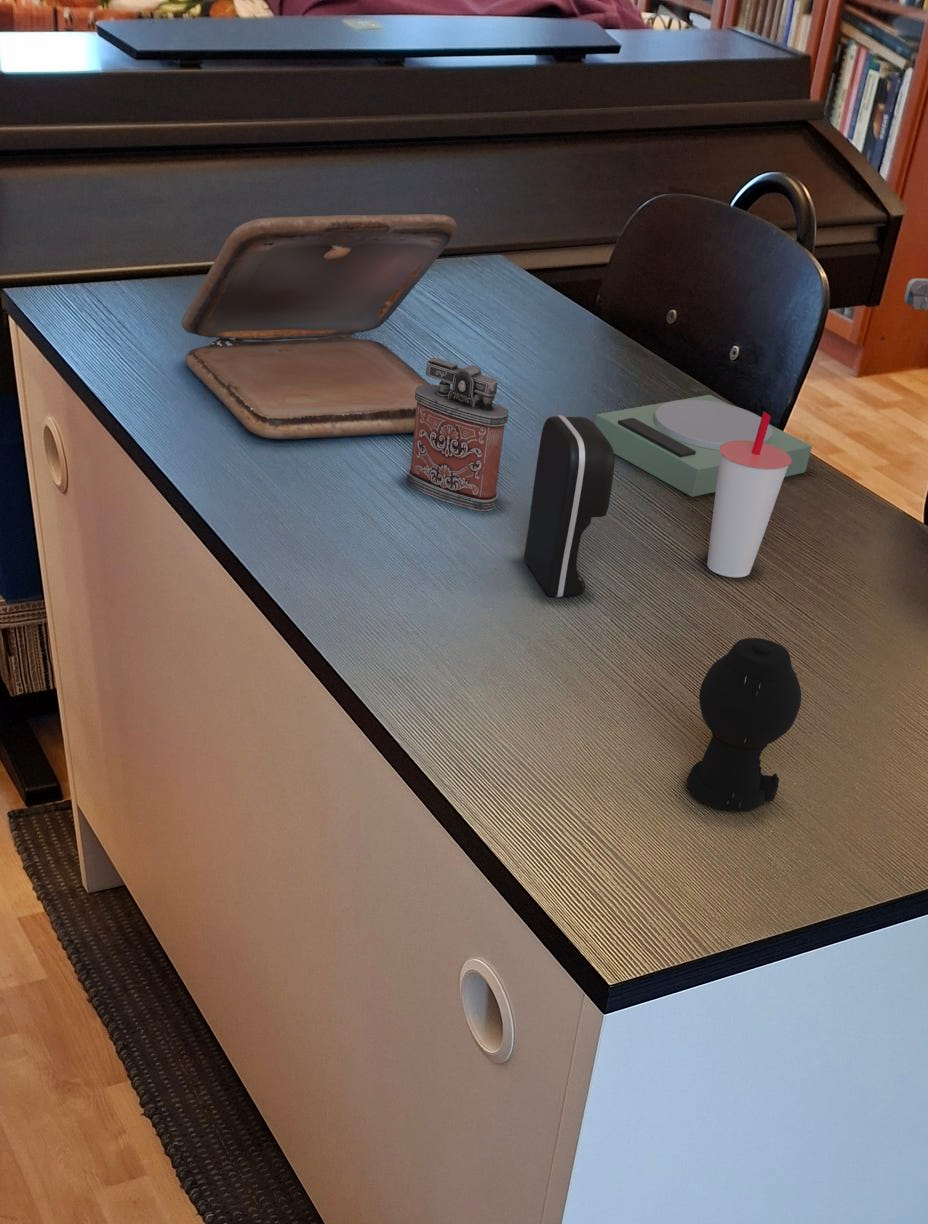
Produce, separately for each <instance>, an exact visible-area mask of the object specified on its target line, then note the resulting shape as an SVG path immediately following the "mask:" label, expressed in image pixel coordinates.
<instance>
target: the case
mask: <svg viewBox="0 0 928 1224" xmlns="http://www.w3.org/2000/svg"><path fill="white" fill-rule="evenodd" d="M457 230H458V225H457V222H456V220H455V219H454V218H453V217H452V216H450V215H446V214H436V213H428V214H427V213H422V214H421V213H418V214H417V213H413V214H412V213H411V214H406V213H405V214H341V215H340V214H338V215H305V216H276V217H275V216H274V217H273V216H271V217H262V218H261V217H260V218H256V219H252V220H249V221H247V222H244V223H242V224H240V225H238V226H237V227H235V229H234V230H233V231H232V232H230V234H229V235H228V237H227V238H226V240H225V242H224V244H223V246H222V248H221V249H220V251H219V253H218V255H217V256H216V258H215V260H214V262H213V263H212V265H211V267H210V269H209V271H208V272H207V274H206V276H205V277H204V279H203V282H202V283H201V285H200V286H199V288H198V289H197V292H196V294H195V295H194V296H193V299H192V300H191V302H190V304H189V306H188V307H187V308H186V311H185V312H184V314H183V316H182V318H181V327H182V329H183V330H184V331H185V332H187V333H189V334H192V335H197V336H200V337H204V338H209V339H210V338H216V340H214V341H212V342H210V344H209V345H205V346H202V347H200V346H199V347H196V348H192V349H190V350H189V351H187V353H186V354H185V356H184V362H185V364H186V366H187V367H188V369H190V371H192V373H193V374H194V375H195V376H196V377H197V378H198V379H199V380H200V381H202V383H203V384H204V385H205V386H207V388H208V389H209V390H211V392H212V393H213V394H214V395H215V396H216V397H217V399H219V401H221V402H222V404H223V405H224V406H225V407H226V408H227V409H228V410H229V411H230V412H231V414H232V415H233V416H234V417H235V418H236V419H237V420H238V422H240V424H242V425H243V426H244V427H245V429H246V430H247V431H249V432H250V433H252V434H254V435H256V436H258V437H261V438H264V439H270V440H271V439H272V440H298V439H300V440H301V439H319V438H320V439H321V438H334V437H335V438H336V437H337V438H339V437H355V436H374V435H389V434H411V433H412V434H414V427H415V416H416V406H417V401H416V400H415V392H416V387H418V386H420V385H425V384H431V383H430V382H428V381H427V380H426V379H425V378H423V377H422V376H421V375H420V374H419V373H418V372H417V371H416V370H415V369H414V368H413V367H412V366H411V365H410V364H408V363H407V362H406V361H404V359H402V358H401V357H400V356H399V355H398V354H397V353H395V352H394V351H393V350H391V349H390V348H389V347H388V346H387V345H385V344H383V343H381V342H379V341H376V340H372V339H364V338H354V337H352V336H351V335H353V334H357V333H365V332H370V331H373V330H376V329H378V328H380V327H381V326H382V325H383V324H384V323H386V322H387V321H388V320H389V319H390V317H391V316H392V315H393V314H394V312H395V311H396V310H397V309H398V308H399V307H400V306H401V304H402V302H403V301H404V300H405V299H406V298H407V296H408V295H409V294H410V293H411V292H412V291H413V289H414V288H415V287H416V285H418V283H419V282H420V280H421V279H422V278H423V277H424V276H425V274H426V273H427V272H428V271H429V269H430V268H431V266H433V264H434V263H435V261H436V260H437V259H438V258H439V256H441V254H442V253H443V251H444V250H445V249H446V247H447V246H448V244H449V243H450V242H451V241H452V240H453V238H454V237H455V235H456V233H457Z"/></svg>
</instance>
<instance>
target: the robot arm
mask: <svg viewBox="0 0 928 1224" xmlns="http://www.w3.org/2000/svg"><path fill="white" fill-rule="evenodd" d="M903 301H904V303H905V304H907V306H910V307H911V308H912V309H914V310H916V311H920V310H922V311H928V278H919V277H918V278H917V277H914V278H911V279H910V280H909V281H908V283H907V286H906V290H905V292H904V296H903Z"/></svg>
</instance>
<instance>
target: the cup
mask: <svg viewBox="0 0 928 1224" xmlns="http://www.w3.org/2000/svg"><path fill="white" fill-rule="evenodd" d="M771 418H772V416H771V415H770V414H768V413H767V412H766V411H764V410H763V412H762V415H761V422H760V425H759V429H758V432H757V436H756V439H755V441H745V440H736V441H729V442H726V443H723V444H722V445H721V446H720V452H721V454H720V462H719V470H718V478H717V486H716V492H714V494H715V495H714V503H713V511H712V517H711V526H710V535H709V542H708V553H707V562H706V566H707V568H708V569H709V570H710V571H712V572H713V573H715V574H717V575H720V576H722V577H727V578H744V577H746V576H747V577H748V576H749V575H750V574H751V572H752V569H753V567H754V563H755V560H756V557H757V555H758V553H759V550H760V547H761V544H762V542H763V538H764V536H765V533H766V530H767V527H768V524H769V522H770V520H771V516H772V513H773V510H774V508H775V505H776V502H777V499H778V496H779V494H780V490H781V488H782V485H783V483H784V479H785V477H784V476H785V474H786V471H787V468H788V465H790V463H791V461H792V460H791V457H790V456H789V455H788V454H787V453H786V452H784V451H783V450H781V449H779V448H777V447H774V446H771V445H768V444H764V443H763V442H764V438H765V435H766V431H767V428H768V425H769V424H770V420H771Z"/></svg>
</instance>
